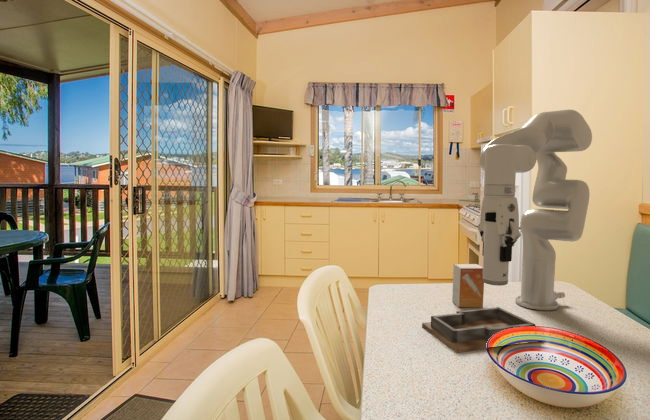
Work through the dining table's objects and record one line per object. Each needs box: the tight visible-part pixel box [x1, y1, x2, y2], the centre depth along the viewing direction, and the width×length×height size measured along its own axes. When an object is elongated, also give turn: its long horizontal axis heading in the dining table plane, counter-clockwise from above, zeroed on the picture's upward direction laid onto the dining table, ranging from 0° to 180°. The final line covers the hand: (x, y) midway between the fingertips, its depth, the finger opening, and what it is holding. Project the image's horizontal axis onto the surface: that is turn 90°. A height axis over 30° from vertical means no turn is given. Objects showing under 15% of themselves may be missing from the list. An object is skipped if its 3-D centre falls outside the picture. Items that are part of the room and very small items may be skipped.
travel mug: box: [482, 212, 510, 286], centre depth 106 cm, size 6×7×20 cm
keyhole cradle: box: [421, 306, 536, 353], centre depth 107 cm, size 25×17×4 cm
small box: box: [451, 263, 485, 308], centre depth 131 cm, size 8×6×13 cm
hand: (496, 258), depth 106 cm, fingers closed on travel mug, 6 cm apart
